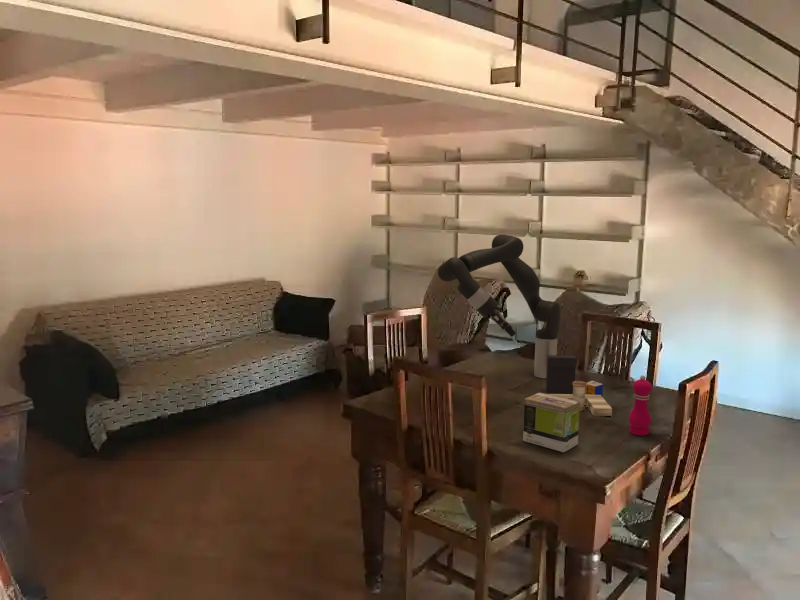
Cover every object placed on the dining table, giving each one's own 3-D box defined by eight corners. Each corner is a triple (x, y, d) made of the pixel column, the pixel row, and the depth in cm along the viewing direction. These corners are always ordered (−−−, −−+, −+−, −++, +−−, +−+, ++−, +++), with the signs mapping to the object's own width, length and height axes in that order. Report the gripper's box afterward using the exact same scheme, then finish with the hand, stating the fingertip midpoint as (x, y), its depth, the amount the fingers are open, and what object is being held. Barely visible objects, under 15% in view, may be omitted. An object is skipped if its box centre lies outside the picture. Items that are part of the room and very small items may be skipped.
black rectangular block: (572, 391, 269) (574, 355, 266) (574, 394, 265) (576, 358, 262) (545, 390, 270) (547, 354, 267) (546, 393, 266) (548, 357, 263)
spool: (569, 406, 250) (570, 380, 248) (583, 406, 250) (584, 381, 248) (572, 411, 245) (574, 385, 243) (586, 411, 245) (588, 385, 243)
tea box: (578, 444, 213) (581, 400, 211) (563, 453, 206) (566, 408, 203) (537, 433, 223) (539, 390, 221) (521, 441, 216) (523, 397, 213)
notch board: (547, 401, 256) (548, 393, 255) (600, 402, 255) (600, 394, 255) (556, 415, 240) (556, 407, 239) (611, 416, 239) (612, 408, 239)
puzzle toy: (592, 393, 266) (592, 380, 265) (602, 397, 262) (603, 383, 261) (583, 396, 262) (583, 382, 261) (593, 399, 258) (594, 385, 257)
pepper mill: (632, 426, 229) (636, 371, 226) (653, 431, 225) (657, 375, 221) (624, 432, 224) (628, 375, 220) (645, 437, 219) (650, 379, 216)
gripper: (491, 297, 235) (522, 329, 237) (487, 291, 249) (517, 321, 251) (476, 312, 236) (507, 343, 238) (473, 305, 250) (502, 335, 252)
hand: (512, 332), depth 244 cm, fingers open, 8 cm apart
